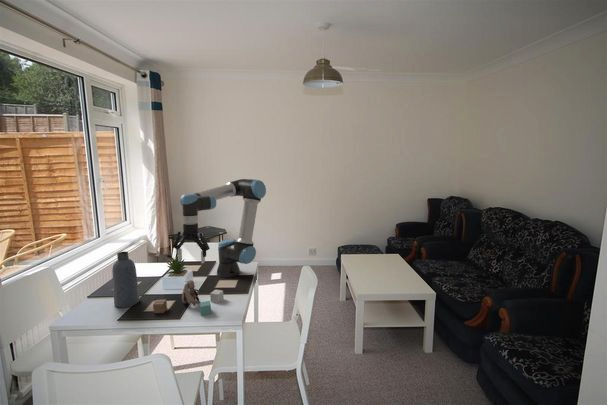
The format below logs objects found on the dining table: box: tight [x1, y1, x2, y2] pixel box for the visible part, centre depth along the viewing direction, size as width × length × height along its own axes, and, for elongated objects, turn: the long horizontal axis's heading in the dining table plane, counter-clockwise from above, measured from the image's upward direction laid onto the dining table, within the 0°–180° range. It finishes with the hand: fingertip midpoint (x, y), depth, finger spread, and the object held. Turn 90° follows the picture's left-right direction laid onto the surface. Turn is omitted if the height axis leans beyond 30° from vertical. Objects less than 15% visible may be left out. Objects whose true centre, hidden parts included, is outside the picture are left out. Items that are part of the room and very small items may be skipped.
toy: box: [181, 279, 200, 306], centre depth 175 cm, size 9×8×15 cm
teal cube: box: [199, 300, 212, 317], centre depth 166 cm, size 5×5×5 cm
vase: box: [111, 251, 141, 309], centre depth 175 cm, size 12×12×28 cm
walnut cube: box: [152, 299, 168, 314], centre depth 168 cm, size 5×5×5 cm
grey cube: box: [209, 289, 224, 304], centre depth 180 cm, size 5×5×5 cm
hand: (191, 261), depth 176 cm, fingers open, 13 cm apart
